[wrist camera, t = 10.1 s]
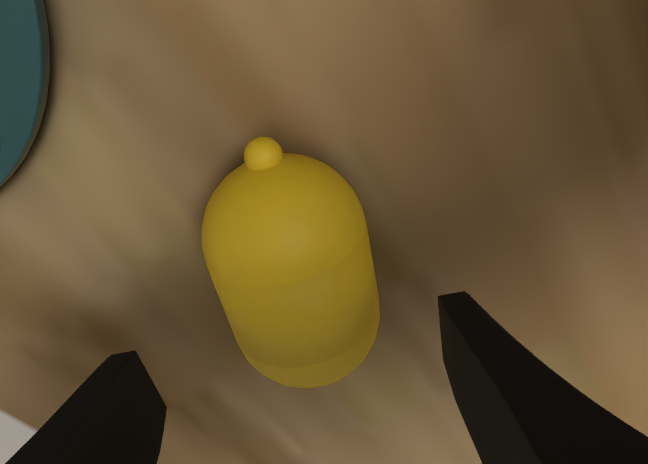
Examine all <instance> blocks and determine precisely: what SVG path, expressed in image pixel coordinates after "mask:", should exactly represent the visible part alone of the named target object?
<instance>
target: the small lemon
mask: <svg viewBox="0 0 648 464" xmlns="http://www.w3.org/2000/svg"><path fill="white" fill-rule="evenodd" d="M244 162H245V163H243V164H242V165H240V166H239V167H238V168H236V169H235V170H234V171H232V172H231V173H230V174H228V175H227V176H226V177H225V178H224V179H223V180H222V182H221V183H220V184H219V185H218V187H217V188H216V189H215V191H214V192H213V194H212V196H211V198H210V200H209V202H208V204H207V207H206V209H205V214H204V219H203V224H202V229H201V241H202V249H203V253H204V257H205V261H206V265H207V268H208V270H209V273H210V276H211V278H212V281H213V283H214V286H215V288H216V291H217V293H218V296H219V298H220V301H221V303H222V306H223V308H224V311H225V313H226V316H227V319H228V321H229V324H230V326H231V329H232V331H233V334H234V336H235V339H236V341H237V343H238V345H239V347H240V349H241V351H242V352H243V354H244V356H245V357H246V359H247V360H248V362H249V363H250V364H251V365H252V366H253V367H254V368H255V369H257V370H258V371H259V372H260V373H261V374H262V375H263V376H265V377H267V378H269V379H271V380H273V381H275V382H277V383H279V384H281V385H285V386H289V387H295V388H317V387H322V386H326V385H329V384H332V383H334V382H336V381H339V380H340V379H342V378H343V377H345V376H347V375H348V374H350V373H351V372H352V371H353V370H354V369H356V368H357V367H358V366H359V365H360V364H361V363H362V361H363V360H364V359H365V358H366V356H367V355H368V353H369V351H370V349H371V348H372V346H373V343H374V341H375V339H376V336H377V331H378V327H379V322H380V302H379V295H378V289H377V283H376V277H375V271H374V265H373V260H372V254H371V248H370V242H369V236H368V230H367V224H366V219H365V216H364V212H363V209H362V206H361V204H360V202H359V200H358V198H357V196H356V194H355V192H354V191H353V189H352V187H351V186H350V185H349V184H348V183H347V181H346V180H345V179H344V178H343V177H342V176H341V175H340V174H339V173H338V172H336V171H335V170H334V169H332V168H331V167H329V166H328V165H327V164H325V163H323V162H321V161H318V160H316V159H313V158H311V157H309V156H305V155H300V154H292V153H283V152H282V149H281V147H280V145H279V144H278V143H277V142H276V141H275V140H273V139H271V138H269V137H257V138H255V139H253V140H251V141H250V142H249V143H248V144H247V146H246V148H245V150H244Z"/></svg>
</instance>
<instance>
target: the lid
mask: <svg viewBox="0 0 648 464" xmlns="http://www.w3.org/2000/svg"><path fill="white" fill-rule="evenodd" d="M49 77H50V43H49V31H48V24H47V18H46V11H45V4H44V0H0V187H1V186H2V185H3V184H4V183H5V182H6V181H7V180H8V179H9V178H10V177H11V176H12V175H13V174H14V172H15V171H16V170H17V168H18V167H19V166H20V164H21V163H22V161H23V160H24V159H25V157H26V156H27V154H28V152H29V150H30V148H31V146H32V144H33V142H34V139H35V137H36V135H37V133H38V131H39V127H40V124H41V120H42V117H43V113H44V110H45V106H46V102H47V93H48V85H49Z"/></svg>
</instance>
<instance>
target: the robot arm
mask: <svg viewBox="0 0 648 464" xmlns="http://www.w3.org/2000/svg"><path fill="white" fill-rule="evenodd" d="M438 306H439V318H440V329H441V341H442V352H443V361H444V364H445V368H446V371H447V374H448V378H449V381H450V384H451V387H452V391H453V394H454V397H455V400H456V403H457V405H458V408H459V410H460V412H461V415H462V417H463V419H464V422H465V424H466V426H467V429H468V431H469V433H470V436H471V438H472V440H473V443H474V445H475V447H476V450H477V452H478V454H479V457H480V459H481V461H482V464H648V437H647V436H645V435H644V434H642V433H641V432H639V431H638V430H636V429H634V428H633V427H631V426H630V425H628V424H627V423H625V422H623V421H622V420H620V419H619V418H617V417H616V416H614V415H613V414H612V413H610V412H609V411H607V410H606V409H604V408H603V407H601V406H600V405H598V404H597V403H595V402H594V401H593V400H591V399H590V398H588V397H587V396H586V395H584V394H583V393H582V392H580V391H579V390H578V389H576V388H575V387H573V386H572V385H571V384H570V383H568V382H567V381H566V380H564V379H563V378H562V377H560V376H559V375H558V374H557V373H555V372H554V371H553V370H551V369H550V368H549V367H548V366H547V365H545V364H544V363H543V362H542V361H540V360H539V359H538V358H537V357H536V356H534V355H533V354H532V353H531V352H530V351H529V350H528V349H526V348H525V347H524V346H523V345H522V344H521V343H519V342H518V341H517V340H516V339H515V338H514V337H513V336H511V335H510V334H509V333H508V332H507V331H506V330H505V329H504V328H503V327H502V326H501V325H500V324H498V323H497V322H496V321H495V320H494V319H493V318H492V317H491V316H490V315H489V314H488V313H487V312H486V311H485V310H484V309H483V308H482V307H481V306H480V305H479V304H478V303H477V302H476V301H475V300H474V299H473V298H472V297H471V296H470V295H469V294H468V293H466V292H465V291H463V292H457V293H452V294H446V295H441V296H438ZM166 409H167V407H166V405H165V403H164V401H163V400H162V398H161V396H160V394H159V392H158V390H157V389H156V387H155V385H154V383H153V381H152V380H151V378H150V376H149V374H148V372H147V371H146V369H145V367H144V365H143V363H142V362H141V360H140V358H139V356H138V354H137V352H136V351H129V352H124V353H118V354H113V355H110V356H109V357H108V358H107V359H106V360H105V361H104V362H103V363H102V364H101V365H100V366H99V367H98V368H97V369H96V370H95V371H94V372H93V373H92V374H91V375H90V376H89V377H88V378H87V379H86V381H85V382H84V383H83V384H82V385H81V386H80V387H79V388H78V389H77V390H76V391H75V392H74V393H73V394H72V395H71V397H70V398H69V399H68V400H67V401H66V402H65V403H64V404H63V405H62V406H61V407H60V408H59V409H58V410H57V411H56V412H55V414H54V415H53V416H52V417H51V418H50V419H49V420H48V421H47V422H46V423H45V424H44V425H43V426H42V427H41V428H40V429H39V430H38V431H37V432H36V434H35V435H34V436H33V437H32V438H31V439H30V440H29V441H28V442H27V443H25V444H24V445H23V446H22V447H21V448H20V450H18V451H17V452H16V453H15V455H14V456H13V457H11V458H10V459H9V460H8V461H7V462H6V463H5V464H157V460H158V456H159V453H160V448H161V442H162V437H163V431H164V424H165V417H166Z"/></svg>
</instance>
